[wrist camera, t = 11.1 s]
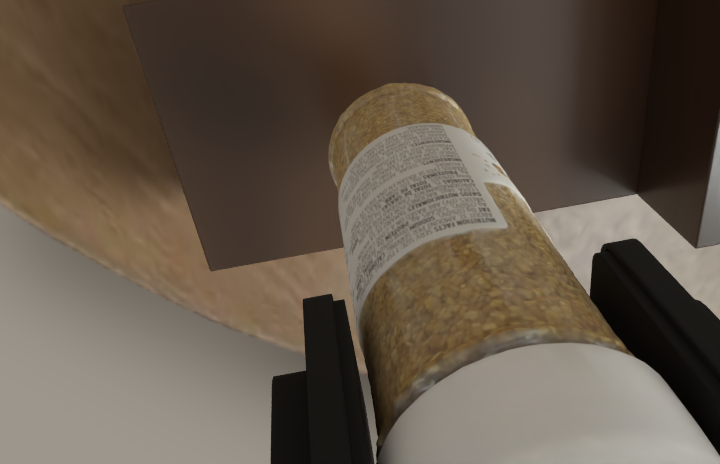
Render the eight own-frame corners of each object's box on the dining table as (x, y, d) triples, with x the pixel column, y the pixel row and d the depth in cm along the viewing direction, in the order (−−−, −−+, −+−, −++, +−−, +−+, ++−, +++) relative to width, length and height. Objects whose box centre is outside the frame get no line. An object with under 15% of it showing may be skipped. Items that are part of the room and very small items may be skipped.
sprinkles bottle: (483, 186, 20) (756, 620, 9) (351, 230, 20) (444, 706, 9) (451, 53, 18) (770, 408, 6) (302, 106, 18) (342, 537, 6)
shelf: (222, 199, 29) (198, 340, 20) (155, -25, 24) (85, 38, 15) (594, 133, 29) (723, 244, 21) (610, -103, 24) (791, -84, 16)
